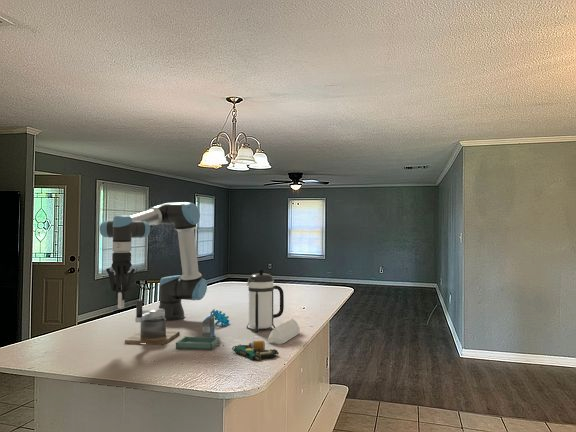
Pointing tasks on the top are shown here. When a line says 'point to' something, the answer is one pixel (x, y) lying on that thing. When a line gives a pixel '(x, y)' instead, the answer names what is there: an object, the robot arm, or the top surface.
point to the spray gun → (255, 350)
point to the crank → (148, 313)
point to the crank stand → (153, 333)
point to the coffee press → (262, 301)
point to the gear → (221, 318)
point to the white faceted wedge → (284, 332)
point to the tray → (197, 343)
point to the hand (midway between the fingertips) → (121, 307)
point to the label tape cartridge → (209, 325)
